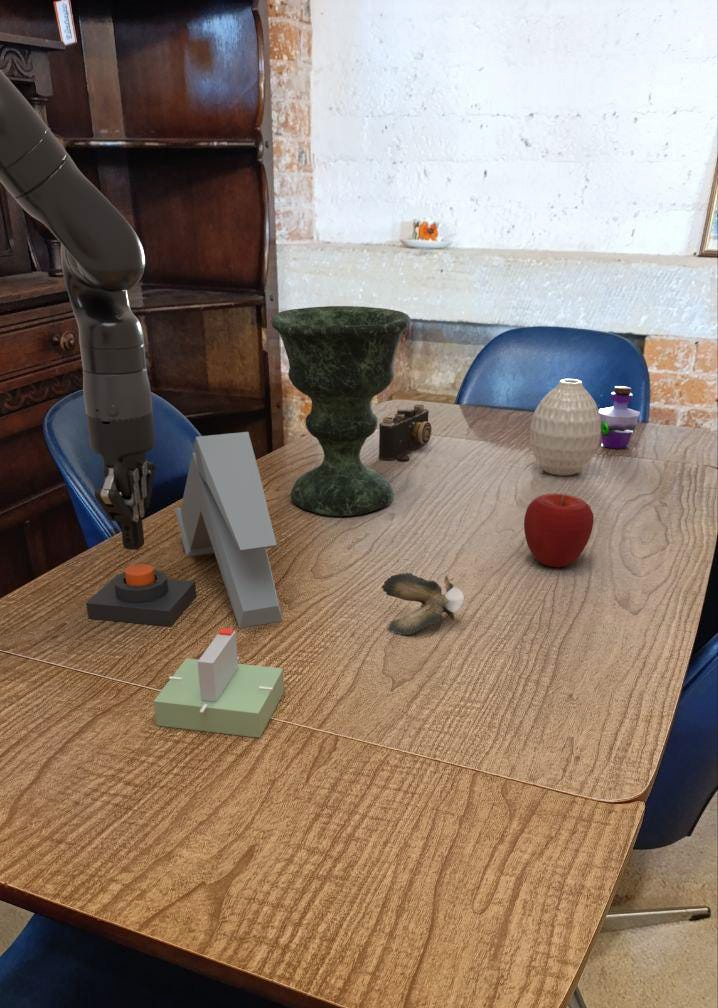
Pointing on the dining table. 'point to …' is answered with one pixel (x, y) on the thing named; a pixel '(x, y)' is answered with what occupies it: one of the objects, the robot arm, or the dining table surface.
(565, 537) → the apple
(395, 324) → the goblet
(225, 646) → the grey flat block
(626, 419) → the potion bottle
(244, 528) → the bracket
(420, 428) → the camera
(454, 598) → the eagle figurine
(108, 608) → the button box
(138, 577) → the button
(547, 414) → the vase
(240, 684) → the base
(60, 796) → the dining table surface
